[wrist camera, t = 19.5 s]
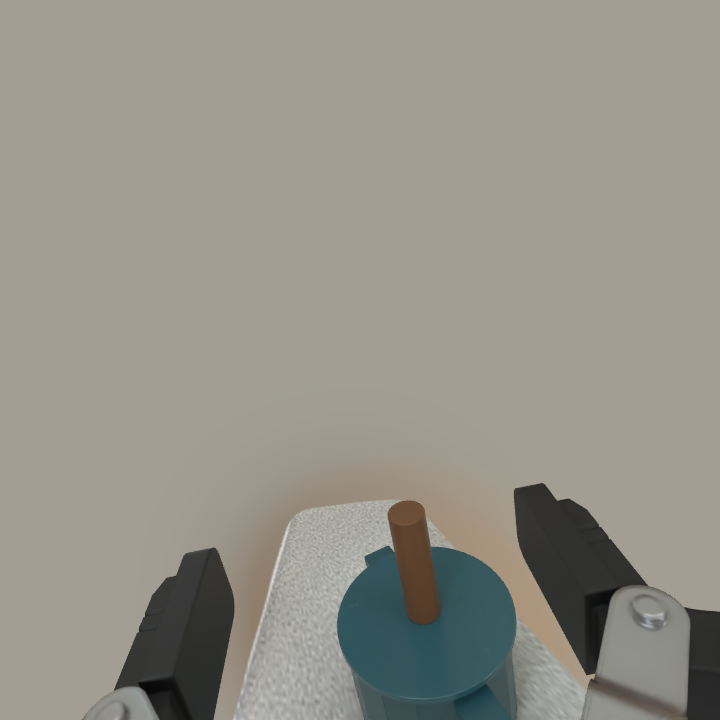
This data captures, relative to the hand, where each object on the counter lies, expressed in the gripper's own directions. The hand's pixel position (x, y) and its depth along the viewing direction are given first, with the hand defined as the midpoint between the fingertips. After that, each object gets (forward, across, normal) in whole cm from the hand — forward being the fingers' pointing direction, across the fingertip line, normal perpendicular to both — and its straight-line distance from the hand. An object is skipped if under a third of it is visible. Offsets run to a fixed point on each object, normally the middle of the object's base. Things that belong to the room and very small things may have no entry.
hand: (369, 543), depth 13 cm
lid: (+15, -2, +20) cm, 26 cm away
